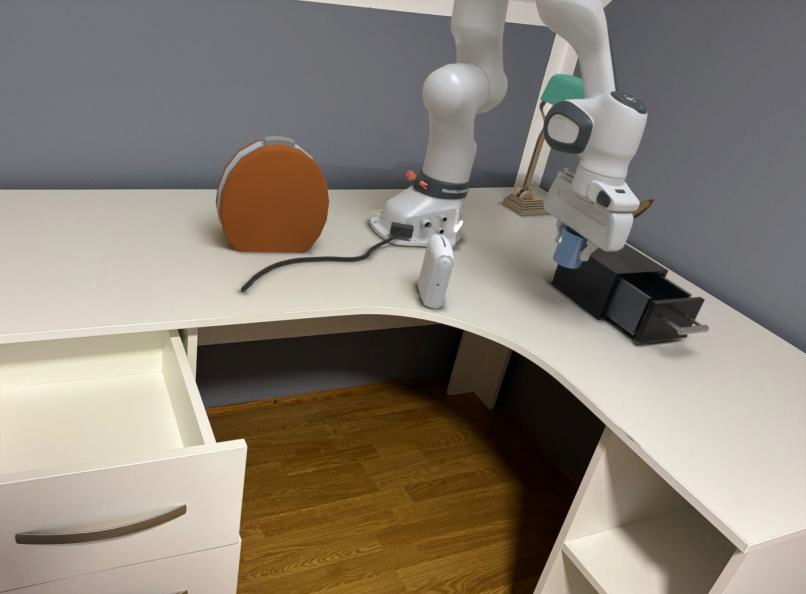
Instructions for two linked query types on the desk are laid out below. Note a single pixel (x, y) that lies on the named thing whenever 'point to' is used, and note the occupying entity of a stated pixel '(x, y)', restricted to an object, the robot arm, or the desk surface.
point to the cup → (569, 248)
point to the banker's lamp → (554, 92)
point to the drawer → (654, 308)
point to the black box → (602, 277)
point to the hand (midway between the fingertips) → (570, 251)
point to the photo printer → (435, 271)
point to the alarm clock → (272, 197)
